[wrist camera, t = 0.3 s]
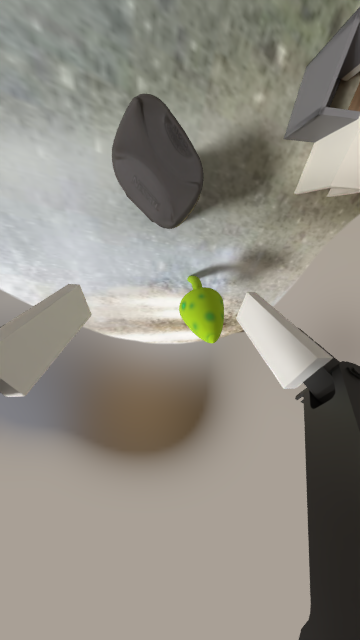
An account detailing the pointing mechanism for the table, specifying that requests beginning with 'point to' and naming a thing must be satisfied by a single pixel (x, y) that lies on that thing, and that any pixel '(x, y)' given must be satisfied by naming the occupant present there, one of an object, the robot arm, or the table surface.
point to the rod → (355, 101)
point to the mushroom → (203, 311)
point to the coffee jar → (156, 162)
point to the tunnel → (329, 117)
